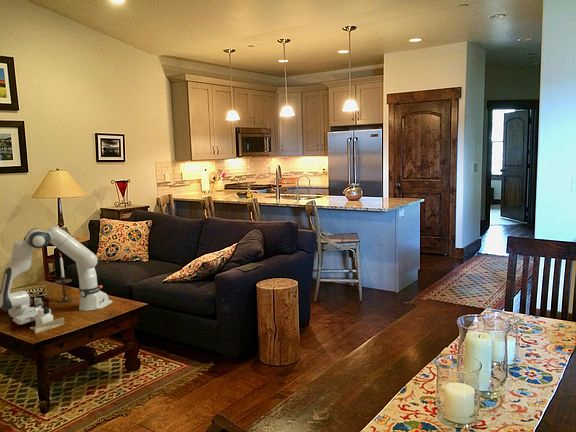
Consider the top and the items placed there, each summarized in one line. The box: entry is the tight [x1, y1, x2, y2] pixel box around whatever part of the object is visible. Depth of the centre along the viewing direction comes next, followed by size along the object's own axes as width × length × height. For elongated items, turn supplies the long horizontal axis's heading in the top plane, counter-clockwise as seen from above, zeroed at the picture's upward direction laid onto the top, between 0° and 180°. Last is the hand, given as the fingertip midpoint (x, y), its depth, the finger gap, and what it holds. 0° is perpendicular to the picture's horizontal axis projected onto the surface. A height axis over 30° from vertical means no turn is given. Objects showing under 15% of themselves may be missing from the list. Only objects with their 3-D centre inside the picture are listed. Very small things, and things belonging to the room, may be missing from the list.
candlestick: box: [54, 252, 73, 304], centre depth 338 cm, size 11×11×35 cm
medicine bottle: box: [34, 306, 54, 326], centre depth 287 cm, size 7×7×12 cm
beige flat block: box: [29, 317, 65, 335], centre depth 287 cm, size 11×18×4 cm, turn 148°
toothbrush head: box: [33, 296, 44, 307], centre depth 335 cm, size 5×7×25 cm
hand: (40, 318), depth 289 cm, fingers closed, pressing on medicine bottle
